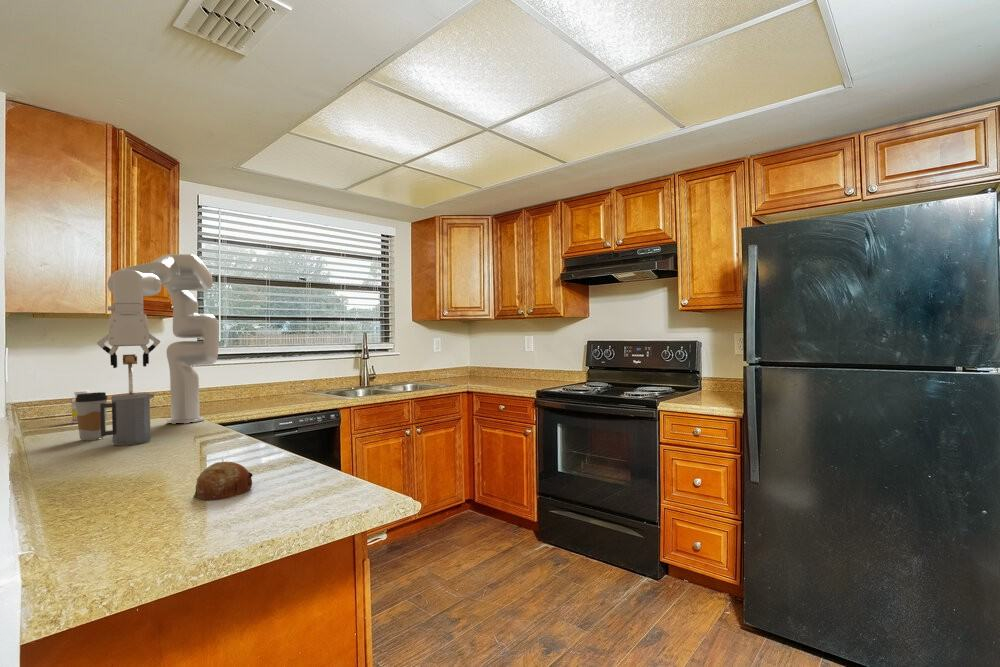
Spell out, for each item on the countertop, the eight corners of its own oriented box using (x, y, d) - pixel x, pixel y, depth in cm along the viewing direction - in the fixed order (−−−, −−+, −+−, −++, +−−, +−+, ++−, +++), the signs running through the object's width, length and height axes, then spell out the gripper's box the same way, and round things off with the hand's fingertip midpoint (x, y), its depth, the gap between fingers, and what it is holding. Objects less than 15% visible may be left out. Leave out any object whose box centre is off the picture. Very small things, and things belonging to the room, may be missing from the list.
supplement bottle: (89, 420, 212) (88, 389, 212) (96, 421, 209) (95, 390, 209) (69, 423, 206) (68, 391, 207) (76, 424, 203) (75, 392, 203)
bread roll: (199, 509, 102) (178, 477, 100) (247, 478, 109) (229, 447, 106) (214, 521, 95) (192, 486, 93) (264, 486, 101) (245, 453, 99)
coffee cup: (104, 435, 173) (103, 391, 173) (111, 438, 167) (110, 392, 168) (73, 440, 166) (72, 394, 166) (79, 442, 161) (78, 395, 161)
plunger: (120, 415, 159) (119, 354, 159) (143, 413, 162) (142, 354, 162) (118, 417, 154) (116, 355, 154) (142, 415, 157) (140, 354, 157)
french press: (103, 443, 158) (102, 394, 158) (155, 438, 165) (154, 391, 165) (99, 448, 150) (98, 397, 150) (154, 442, 157) (152, 393, 157)
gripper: (91, 309, 150) (92, 369, 150) (161, 309, 160) (163, 365, 159) (95, 310, 157) (96, 368, 157) (162, 310, 166) (164, 365, 166)
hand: (130, 366), depth 158 cm, fingers open, 6 cm apart
